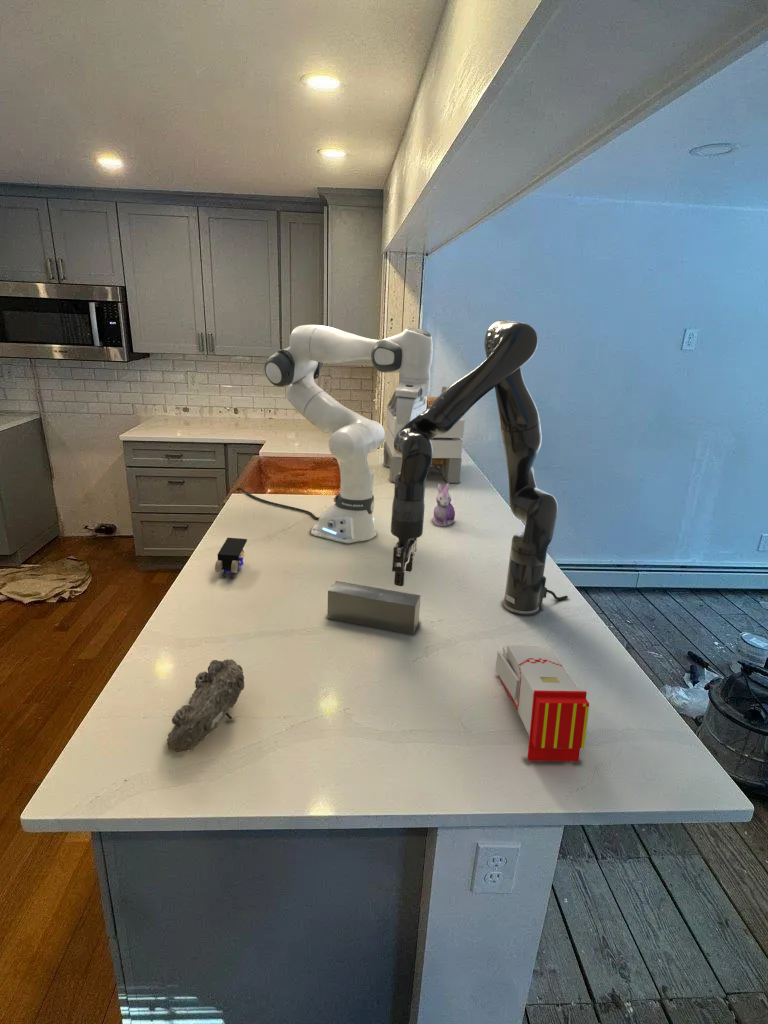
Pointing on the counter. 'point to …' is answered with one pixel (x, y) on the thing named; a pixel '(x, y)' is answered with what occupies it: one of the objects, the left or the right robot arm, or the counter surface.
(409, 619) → the bar
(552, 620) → the counter surface
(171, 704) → the counter surface
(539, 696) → the toy
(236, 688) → the fossil
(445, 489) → the figurine
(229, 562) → the figurine character
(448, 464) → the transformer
